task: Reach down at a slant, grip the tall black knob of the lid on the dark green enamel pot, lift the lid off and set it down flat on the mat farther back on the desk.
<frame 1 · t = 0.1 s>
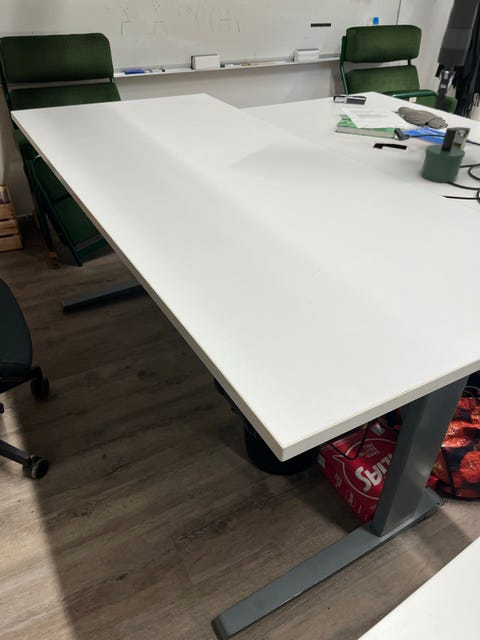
hand: (439, 105, 149), 17 cm above the table, tool pointing down, fingers open, 8 cm apart
lid: (445, 152, 142), point 7 cm above the table, touching pot
food container: (447, 162, 159), on the table
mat: (390, 146, 170), on the table
pot: (438, 176, 147), on the table
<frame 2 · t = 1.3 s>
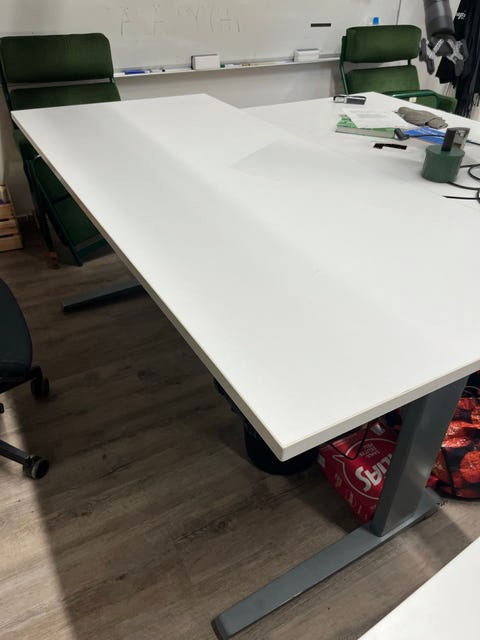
hand: (445, 73, 140), 27 cm above the table, tool tilted 45°, fingers open, 8 cm apart
nothing on the table moved.
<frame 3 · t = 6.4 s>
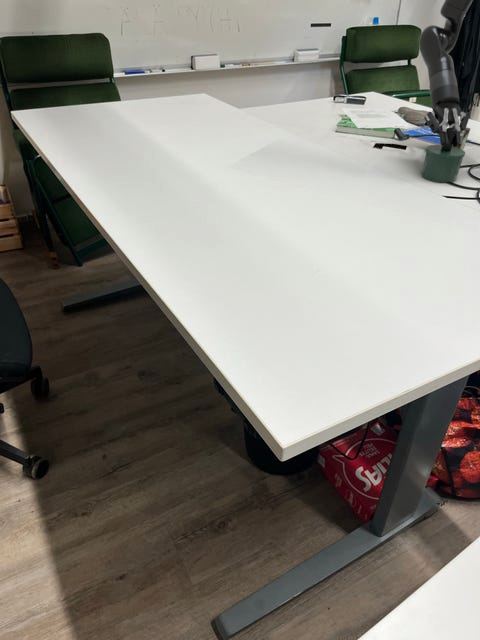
hand: (451, 145, 139), 10 cm above the table, tool tilted 45°, fingers closed on lid, 3 cm apart
lid: (445, 152, 142), point 7 cm above the table, touching gripper, pot
everything else where it was.
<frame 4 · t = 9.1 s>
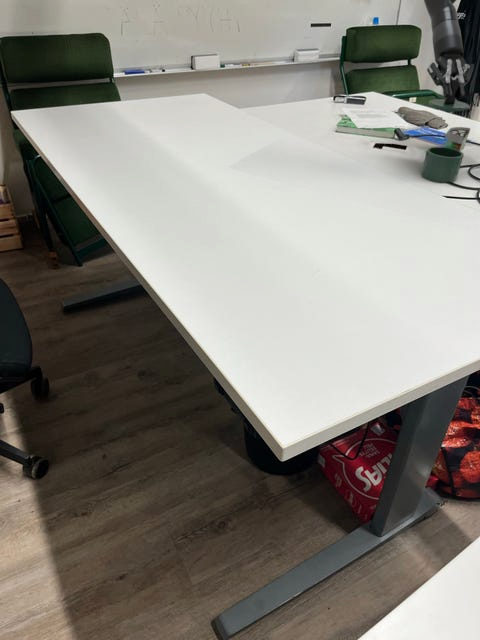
hand: (454, 97, 135), 22 cm above the table, tool tilted 45°, fingers closed on lid, 3 cm apart
lid: (448, 105, 139), point 19 cm above the table, touching gripper
everything else where it was.
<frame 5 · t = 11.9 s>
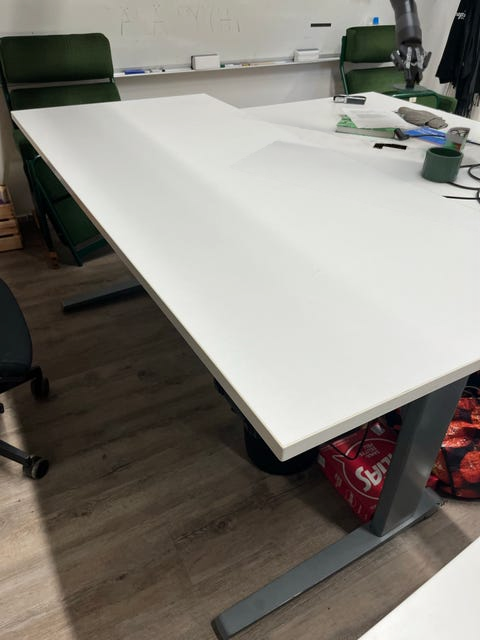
hand: (414, 81, 153), 22 cm above the table, tool tilted 45°, fingers closed on lid, 3 cm apart
lid: (409, 89, 156), point 20 cm above the table, touching gripper
everything else where it was.
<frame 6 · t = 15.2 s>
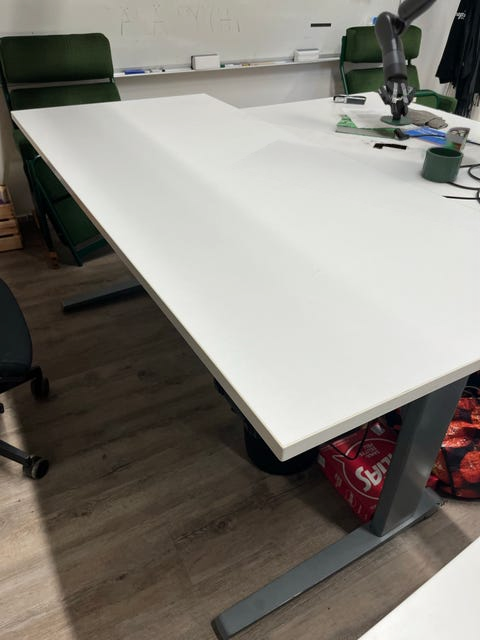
hand: (400, 115, 162), 11 cm above the table, tool tilted 45°, fingers closed on lid, 3 cm apart
lid: (396, 121, 165), point 9 cm above the table, touching gripper
everything else where it was.
when the fingers open (4 cm above the table, at t = 17.5 s): lid stays where it is, resting on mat.
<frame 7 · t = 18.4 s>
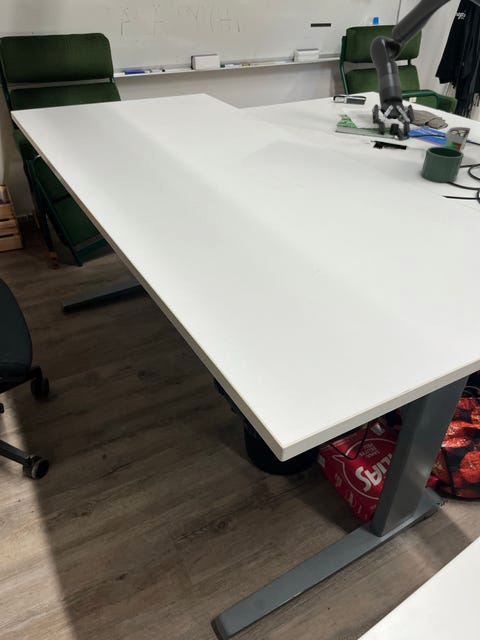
hand: (395, 133, 167), 5 cm above the table, tool tilted 45°, fingers open, 8 cm apart
lid: (391, 143, 170), point 1 cm above the table, touching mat
everything else where it was.
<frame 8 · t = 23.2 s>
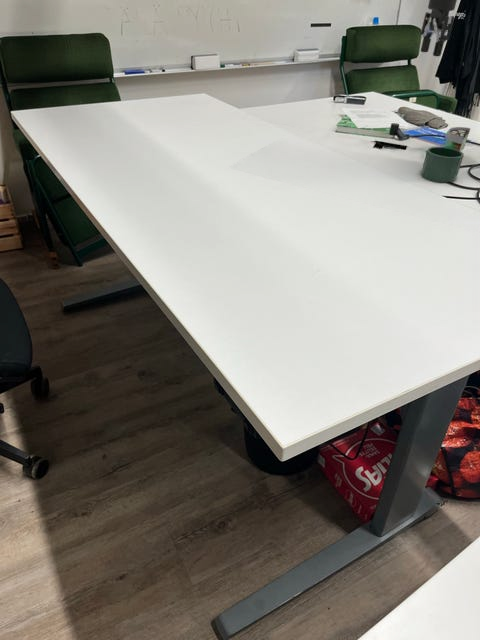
hand: (430, 54, 147), 30 cm above the table, tool pointing down, fingers open, 8 cm apart
nothing on the table moved.
at the end: lid 0.1 cm off-centre on the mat, point 1.0 cm above the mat's base; lid tilted 0°; the gripper is holding nothing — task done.
